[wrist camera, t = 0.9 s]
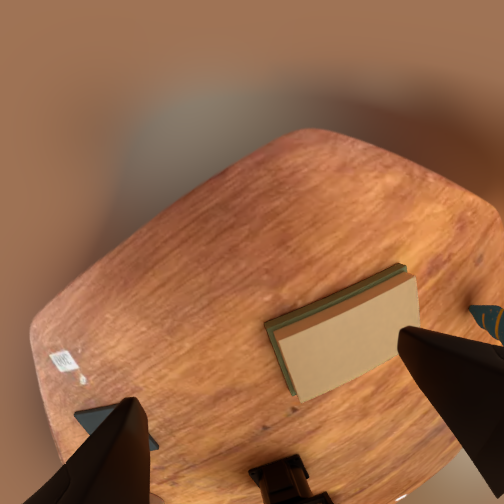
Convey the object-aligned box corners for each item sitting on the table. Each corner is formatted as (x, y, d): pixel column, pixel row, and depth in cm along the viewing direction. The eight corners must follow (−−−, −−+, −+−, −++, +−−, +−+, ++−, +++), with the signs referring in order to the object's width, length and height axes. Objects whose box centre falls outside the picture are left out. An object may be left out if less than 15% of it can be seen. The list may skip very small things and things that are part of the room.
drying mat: (159, 445, 25) (158, 449, 24) (109, 453, 24) (108, 456, 24) (125, 402, 23) (123, 405, 23) (74, 412, 23) (73, 415, 22)
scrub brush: (407, 330, 27) (424, 341, 24) (289, 389, 26) (297, 408, 23) (399, 262, 25) (418, 269, 22) (263, 322, 24) (271, 338, 21)
